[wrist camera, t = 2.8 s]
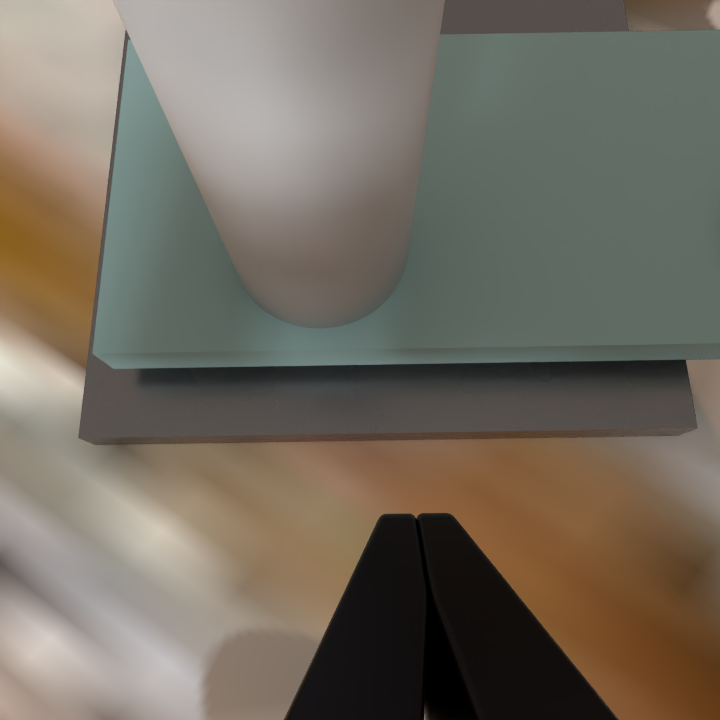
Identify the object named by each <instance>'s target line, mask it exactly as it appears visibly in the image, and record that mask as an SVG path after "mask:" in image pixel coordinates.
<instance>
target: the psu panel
mask: <svg viewBox="0 0 720 720" xmlns="http://www.w3.org/2000/svg"><path fill="white" fill-rule="evenodd" d="M620 31H629V30H628V24H627V18H626V12H625V7H624V1H623V0H445V3H444V10H443V17H442V23H441V30H440V35H443V34H502V33H561V32H620ZM128 40H131V39H130V37H129V35H128V32H127V30H126V32H125V40H124V49H123V58H122V66H121V75H120V84H119V92H118V101H117V110H116V118H115V127H114V135H113V144H112V153H111V161H110V170H109V179H108V187H107V196H106V205H105V213H104V222H103V231H102V239H101V248H100V256H99V265H98V274H97V282H96V291H95V300H94V308H93V317H92V326H91V334H90V343H89V351H88V360H87V369H86V377H85V386H84V395H83V403H82V412H81V421H80V429H79V438H80V439H82V440H85V441H87V442H90V443H92V444H95V445H113V444H176V443H238V442H300V441H363V440H425V439H487V438H550V437H612V436H674V435H680V434H683V433H686V432H688V431H691V430H694V429H696V428H697V423H696V417H695V411H694V405H693V400H692V394H691V388H690V382H689V377H688V371H687V365H686V360H628V361H566V362H505V363H443V364H381V365H319V366H258V367H196V368H134V369H113V368H111V367H110V366H109V365H107V364H106V363H105V362H103V361H102V360H100V359H99V358H98V357H96V356H95V355H94V354H92V353H93V344H94V335H95V327H96V318H97V309H98V300H99V291H100V283H101V274H102V265H103V256H104V247H105V239H106V230H107V221H108V212H109V203H110V195H111V186H112V177H113V168H114V159H115V151H116V142H117V133H118V124H119V115H120V107H121V98H122V89H123V80H124V71H125V63H126V54H127V45H128Z"/></svg>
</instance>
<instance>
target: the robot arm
mask: <svg viewBox="0 0 720 720" xmlns="http://www.w3.org/2000/svg"><path fill="white" fill-rule="evenodd" d="M424 714H425V720H619V719H618V718H617V717H616V716H615V715H614V713H613V712H612V711H611V710H610V708H609V707H608V706H607V705H606V703H605V702H604V701H603V700H602V699H601V697H600V696H599V695H598V694H597V692H596V691H595V690H594V689H593V687H592V686H591V685H590V684H589V682H588V681H587V680H586V679H585V678H584V676H583V675H582V674H581V673H580V671H579V670H578V669H577V668H576V666H575V665H574V664H573V663H572V662H571V660H570V659H569V658H568V657H567V655H566V654H565V653H564V652H563V650H562V649H561V648H560V647H559V646H558V644H557V643H556V642H555V641H554V639H553V638H552V637H551V636H550V634H549V633H548V632H547V631H546V629H545V628H544V627H543V626H542V625H541V623H540V622H539V621H538V620H537V618H536V617H535V616H534V615H533V613H532V612H531V611H530V610H529V609H528V607H527V606H526V605H525V604H524V602H523V601H522V600H521V599H520V597H519V596H518V595H517V594H516V593H515V591H514V590H513V589H512V588H511V586H510V585H509V584H508V583H507V581H506V580H505V579H504V578H503V576H502V575H501V574H500V573H499V572H498V570H497V569H496V568H495V567H494V565H493V564H492V563H491V562H490V560H489V559H488V558H487V557H486V556H485V554H484V553H483V552H482V551H481V549H480V548H479V547H478V546H477V544H476V543H475V542H474V541H473V540H472V538H471V537H470V536H469V535H468V533H467V532H466V531H465V530H464V528H463V527H462V526H461V525H460V523H459V522H458V521H457V520H456V519H455V517H454V516H452V515H451V514H449V513H422V514H420V515H418V517H417V518H415V516H414V515H412V514H384V515H382V516H381V517H380V518H379V519H378V521H377V523H376V525H375V528H374V530H373V532H372V534H371V536H370V538H369V540H368V542H367V545H366V547H365V549H364V551H363V553H362V555H361V557H360V559H359V561H358V564H357V566H356V568H355V570H354V572H353V574H352V576H351V578H350V581H349V583H348V585H347V587H346V589H345V591H344V593H343V595H342V598H341V600H340V602H339V604H338V606H337V608H336V610H335V612H334V615H333V617H332V619H331V621H330V623H329V625H328V627H327V629H326V631H325V634H324V636H323V638H322V640H321V642H320V644H319V646H318V649H317V651H316V653H315V655H314V657H313V659H312V661H311V663H310V666H309V668H308V670H307V672H306V674H305V676H304V678H303V680H302V682H301V685H300V687H299V689H298V691H297V693H296V695H295V697H294V699H293V702H292V704H291V706H290V708H289V710H288V712H287V714H286V717H285V719H284V720H424Z"/></svg>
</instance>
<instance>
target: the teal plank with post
mask: <svg viewBox="0 0 720 720" xmlns="http://www.w3.org/2000/svg"><path fill="white" fill-rule="evenodd" d="M113 2H114V4H115V6H116V8H117V11H118V13H119V15H120V17H121V19H122V21H123V24H124V26H125V28H126V30H127V32H128V35H129V37H130V39H131V40H128V45H127V54H126V63H125V71H124V80H123V89H122V98H121V107H120V115H119V124H118V133H117V142H116V151H115V159H114V168H113V177H112V186H111V195H110V203H109V212H108V221H107V230H106V239H105V247H104V256H103V265H102V274H101V283H100V291H99V300H98V309H97V318H96V327H95V335H94V344H93V353H92V354H94V355H95V356H96V357H98V358H99V359H100V360H102V361H103V362H105V363H106V364H107V365H109V366H110V367H111V368H113V369H134V368H196V367H258V366H319V365H381V364H443V363H505V362H566V361H628V360H690V359H720V30H680V31H620V32H561V33H502V34H443V35H440V30H441V23H442V17H443V10H444V3H445V0H113Z"/></svg>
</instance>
